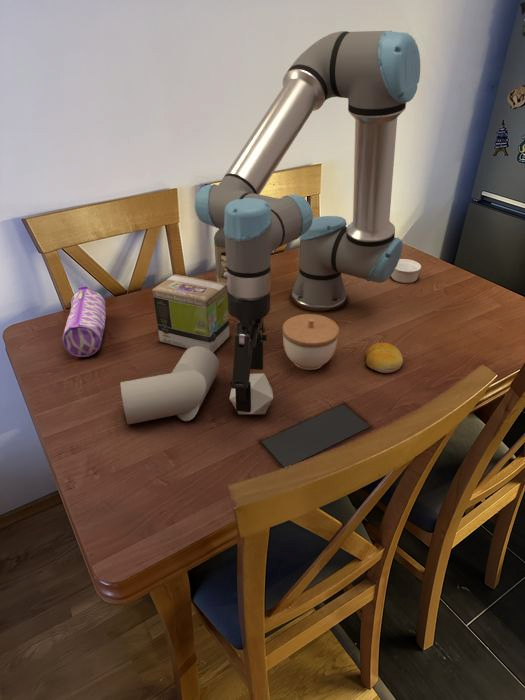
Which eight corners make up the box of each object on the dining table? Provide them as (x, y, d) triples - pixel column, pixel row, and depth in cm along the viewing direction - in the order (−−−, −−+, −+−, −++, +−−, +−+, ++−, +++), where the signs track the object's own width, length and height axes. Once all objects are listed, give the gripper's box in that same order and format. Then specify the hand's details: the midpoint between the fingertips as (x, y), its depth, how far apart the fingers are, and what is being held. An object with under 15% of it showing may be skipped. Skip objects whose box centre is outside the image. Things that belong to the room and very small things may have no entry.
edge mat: (285, 469, 87) (285, 468, 87) (261, 442, 92) (261, 441, 92) (369, 427, 95) (369, 426, 95) (343, 404, 101) (343, 404, 101)
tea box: (230, 336, 124) (228, 283, 115) (211, 356, 116) (206, 301, 108) (180, 323, 129) (174, 271, 121) (158, 342, 121) (150, 288, 113)
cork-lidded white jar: (321, 383, 107) (324, 341, 101) (271, 366, 113) (272, 325, 106) (344, 355, 116) (349, 315, 110) (298, 340, 122) (299, 301, 115)
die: (257, 433, 95) (284, 391, 93) (217, 411, 94) (244, 368, 92) (257, 417, 104) (282, 378, 102) (221, 396, 102) (245, 357, 101)
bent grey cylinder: (199, 440, 91) (229, 376, 107) (182, 395, 86) (216, 335, 102) (118, 440, 97) (158, 380, 113) (97, 398, 91) (142, 341, 107)
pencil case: (73, 317, 132) (65, 285, 127) (108, 313, 134) (102, 281, 129) (66, 363, 114) (56, 328, 109) (107, 357, 116) (100, 323, 111)
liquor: (229, 279, 151) (224, 179, 134) (255, 285, 147) (253, 183, 131) (214, 291, 144) (206, 188, 127) (241, 298, 141) (237, 192, 124)
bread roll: (365, 372, 110) (367, 358, 108) (365, 351, 118) (367, 336, 115) (403, 376, 109) (405, 361, 107) (401, 354, 116) (403, 340, 114)
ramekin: (422, 284, 147) (424, 271, 145) (392, 284, 147) (394, 271, 145) (414, 271, 154) (417, 258, 152) (386, 271, 155) (388, 258, 152)
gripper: (242, 262, 96) (244, 352, 108) (209, 325, 75) (216, 428, 87) (279, 264, 95) (278, 355, 107) (257, 329, 74) (258, 433, 86)
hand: (250, 388), depth 97 cm, fingers open, 13 cm apart
